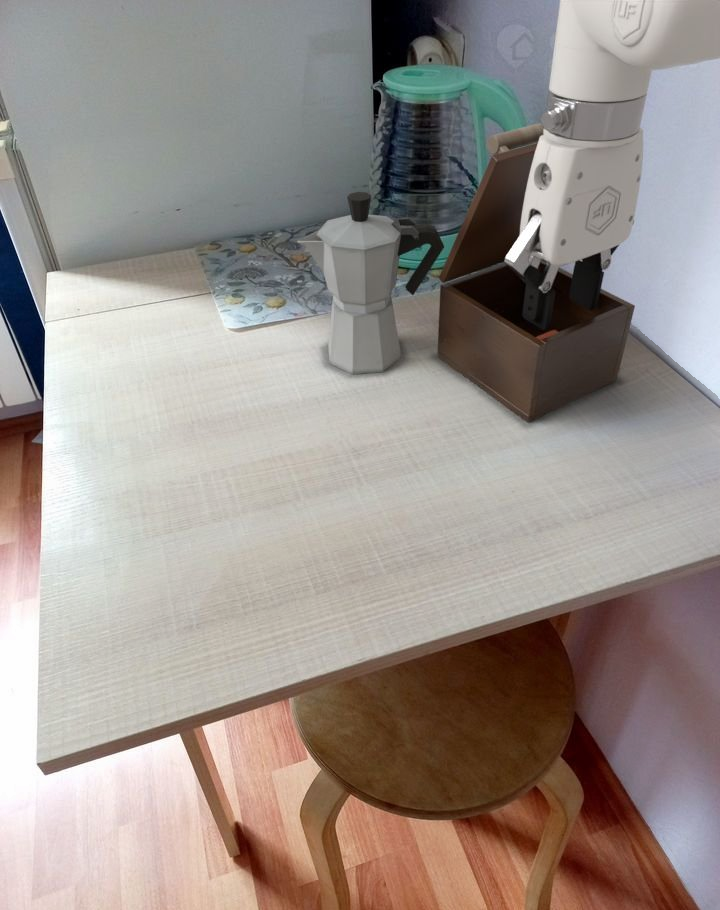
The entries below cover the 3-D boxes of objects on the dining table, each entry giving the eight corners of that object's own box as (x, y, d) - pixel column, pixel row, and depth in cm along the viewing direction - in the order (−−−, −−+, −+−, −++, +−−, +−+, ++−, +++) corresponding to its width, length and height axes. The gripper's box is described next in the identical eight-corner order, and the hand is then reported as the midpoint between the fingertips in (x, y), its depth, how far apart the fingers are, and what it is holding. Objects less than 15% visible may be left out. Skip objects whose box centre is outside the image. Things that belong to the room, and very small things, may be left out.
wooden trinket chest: (617, 380, 74) (635, 305, 69) (527, 422, 69) (539, 346, 64) (521, 322, 84) (530, 252, 78) (437, 356, 79) (440, 284, 73)
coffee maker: (309, 379, 76) (294, 217, 65) (306, 337, 83) (292, 182, 71) (446, 368, 77) (455, 206, 65) (432, 327, 84) (438, 173, 72)
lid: (602, 131, 64) (572, 99, 66) (497, 161, 59) (467, 125, 61) (533, 251, 78) (509, 222, 79) (442, 283, 73) (418, 251, 74)
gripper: (548, 148, 51) (519, 359, 63) (701, 105, 58) (649, 303, 70) (480, 124, 56) (466, 324, 68) (629, 87, 63) (592, 275, 75)
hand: (559, 311), depth 69 cm, fingers open, 5 cm apart
